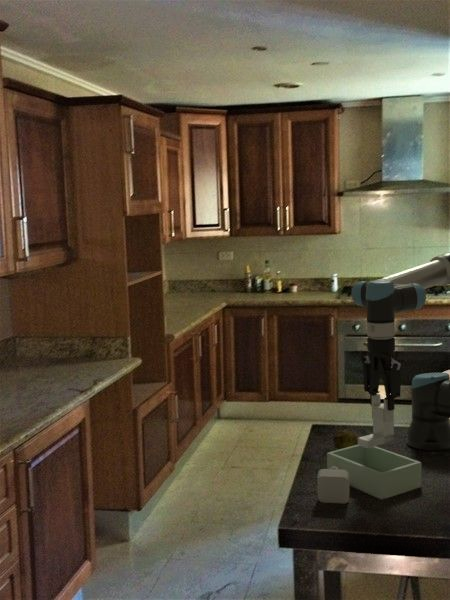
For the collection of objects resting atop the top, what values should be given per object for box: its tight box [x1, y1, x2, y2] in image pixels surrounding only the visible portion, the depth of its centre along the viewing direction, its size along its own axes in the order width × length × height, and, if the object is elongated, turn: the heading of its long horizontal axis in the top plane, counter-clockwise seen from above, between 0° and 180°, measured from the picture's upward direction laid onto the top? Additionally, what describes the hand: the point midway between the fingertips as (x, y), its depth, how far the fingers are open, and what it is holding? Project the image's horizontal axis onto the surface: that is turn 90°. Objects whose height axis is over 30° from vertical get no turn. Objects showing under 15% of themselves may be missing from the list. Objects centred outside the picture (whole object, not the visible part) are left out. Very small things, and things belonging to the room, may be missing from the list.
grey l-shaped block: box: [358, 402, 395, 448], centre depth 202 cm, size 10×4×10 cm, turn 124°
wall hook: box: [316, 466, 350, 504], centre depth 196 cm, size 8×10×10 cm
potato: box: [332, 429, 364, 450], centre depth 228 cm, size 8×13×8 cm, turn 83°
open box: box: [326, 445, 422, 500], centre depth 206 cm, size 15×22×7 cm
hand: (382, 419), depth 204 cm, fingers closed on grey l-shaped block, 4 cm apart
